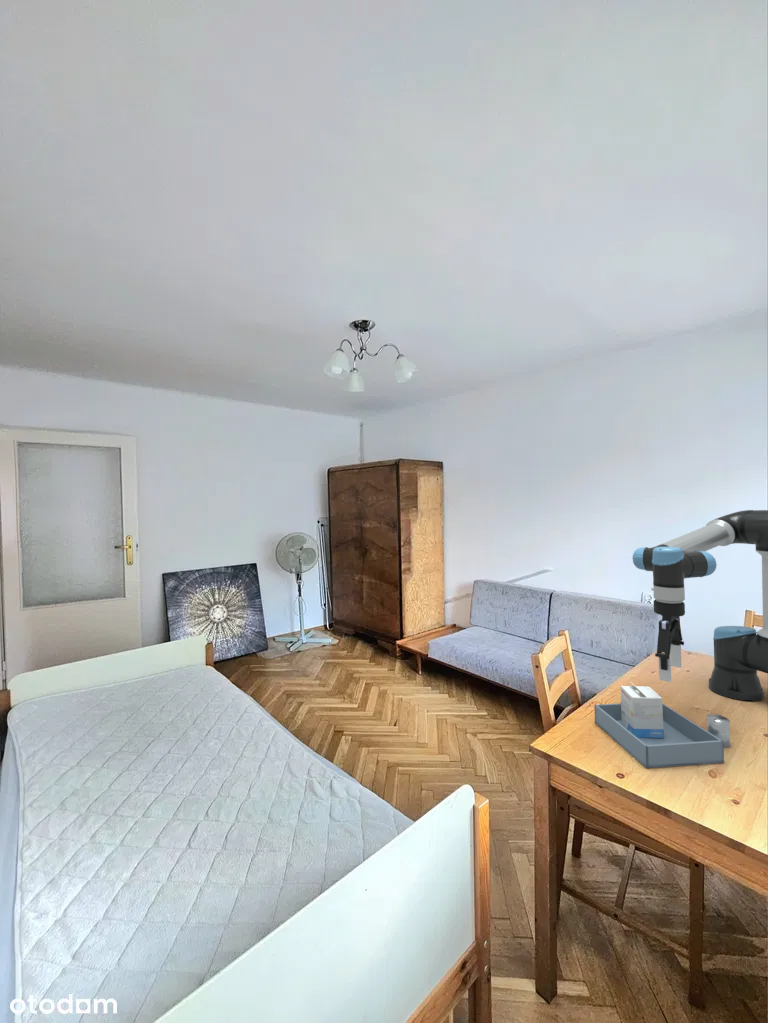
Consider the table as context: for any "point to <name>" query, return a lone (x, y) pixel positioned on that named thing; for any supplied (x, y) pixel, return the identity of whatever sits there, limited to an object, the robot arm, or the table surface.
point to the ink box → (642, 711)
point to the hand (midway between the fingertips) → (670, 673)
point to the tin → (719, 728)
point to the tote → (663, 739)
